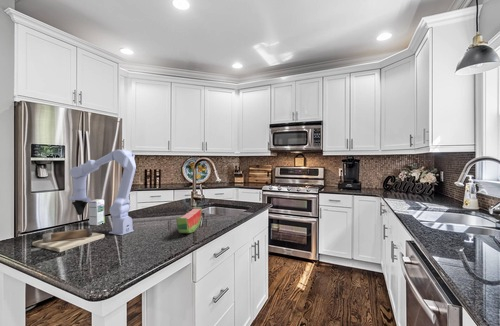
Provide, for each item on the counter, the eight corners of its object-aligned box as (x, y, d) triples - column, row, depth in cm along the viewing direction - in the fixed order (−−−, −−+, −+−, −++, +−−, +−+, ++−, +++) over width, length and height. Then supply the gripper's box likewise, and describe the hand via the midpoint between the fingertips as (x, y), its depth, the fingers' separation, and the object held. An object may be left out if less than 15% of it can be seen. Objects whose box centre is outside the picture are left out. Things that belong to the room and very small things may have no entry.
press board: (104, 237, 119) (104, 234, 119) (59, 252, 100) (59, 248, 100) (78, 232, 127) (78, 229, 127) (32, 245, 108) (32, 241, 108)
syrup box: (97, 225, 140) (97, 200, 139) (88, 224, 141) (88, 200, 141) (105, 222, 145) (104, 199, 145) (96, 222, 146) (96, 198, 146)
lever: (41, 242, 106) (41, 235, 106) (44, 240, 109) (43, 233, 109) (91, 235, 115) (91, 229, 115) (92, 233, 118) (92, 227, 118)
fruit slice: (192, 223, 144) (192, 207, 144) (202, 223, 143) (202, 207, 143) (175, 238, 118) (175, 218, 118) (187, 238, 117) (187, 218, 117)
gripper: (63, 189, 126) (63, 214, 126) (80, 190, 120) (81, 217, 121) (77, 187, 133) (77, 212, 133) (94, 189, 127) (95, 214, 127)
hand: (80, 214), depth 127 cm, fingers closed
